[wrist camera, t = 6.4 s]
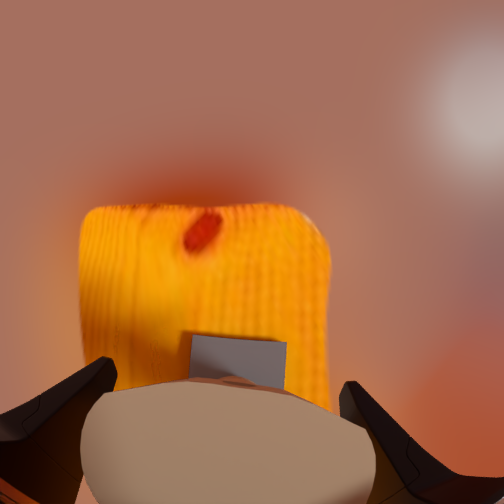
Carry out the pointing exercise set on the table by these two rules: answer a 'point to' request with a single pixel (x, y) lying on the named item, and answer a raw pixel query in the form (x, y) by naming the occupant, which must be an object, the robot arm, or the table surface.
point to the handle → (222, 447)
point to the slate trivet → (238, 360)
